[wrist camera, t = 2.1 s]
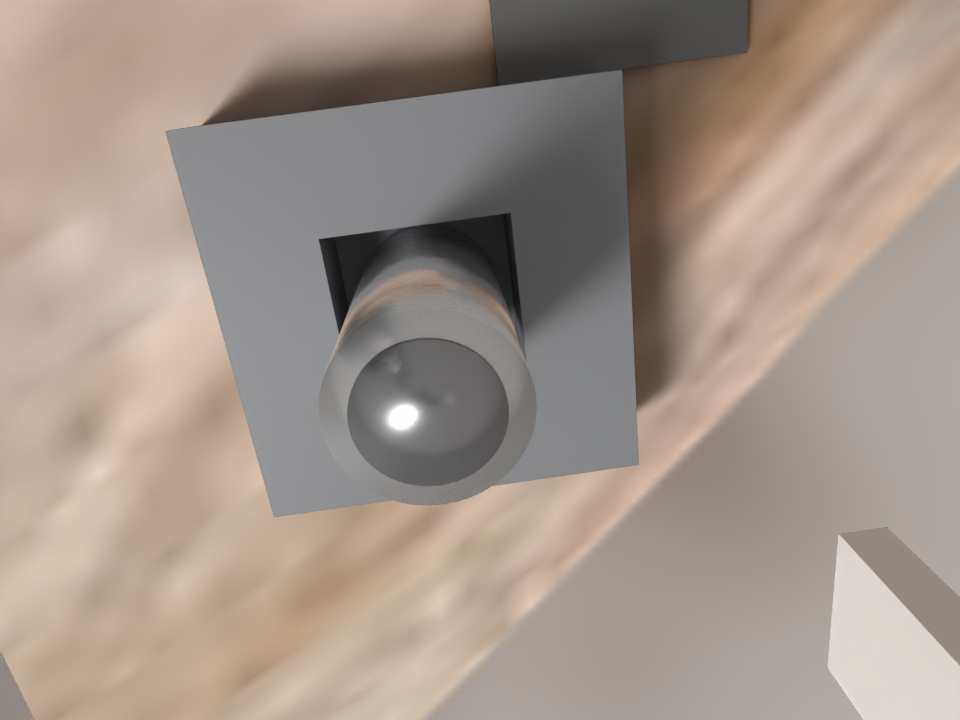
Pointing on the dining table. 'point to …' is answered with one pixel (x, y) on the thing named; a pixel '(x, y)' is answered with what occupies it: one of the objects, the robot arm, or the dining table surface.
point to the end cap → (427, 373)
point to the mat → (610, 35)
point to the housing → (411, 202)
